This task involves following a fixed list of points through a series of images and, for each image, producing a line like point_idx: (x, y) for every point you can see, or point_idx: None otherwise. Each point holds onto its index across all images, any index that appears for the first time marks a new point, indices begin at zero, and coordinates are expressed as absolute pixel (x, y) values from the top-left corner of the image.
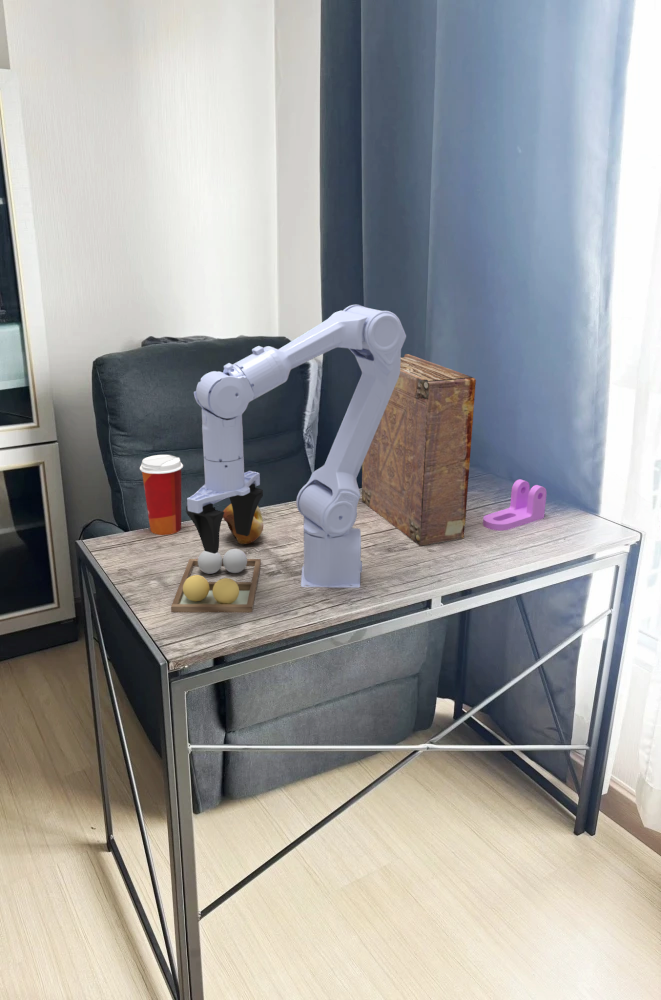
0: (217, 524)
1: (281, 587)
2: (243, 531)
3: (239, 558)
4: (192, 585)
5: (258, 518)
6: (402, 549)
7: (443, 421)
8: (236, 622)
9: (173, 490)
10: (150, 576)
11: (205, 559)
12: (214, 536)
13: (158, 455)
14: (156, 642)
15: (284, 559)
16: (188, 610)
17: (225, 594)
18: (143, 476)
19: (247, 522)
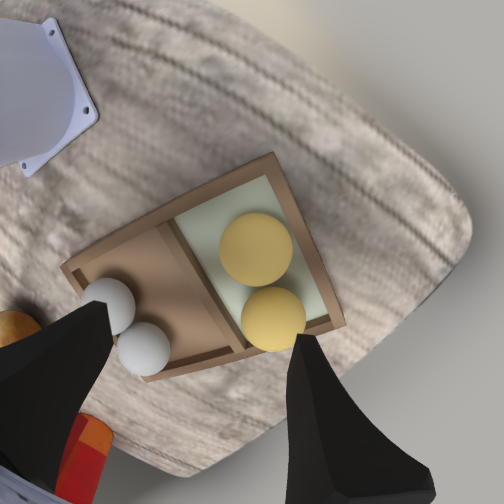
0: (355, 437)
1: (112, 166)
2: (101, 326)
3: (107, 298)
4: (299, 326)
5: None
6: None
7: None
8: (318, 171)
9: (64, 472)
10: (219, 404)
11: (158, 359)
12: (345, 391)
13: None
14: (441, 280)
15: (25, 233)
16: (333, 290)
17: (286, 236)
18: None
19: (74, 336)
